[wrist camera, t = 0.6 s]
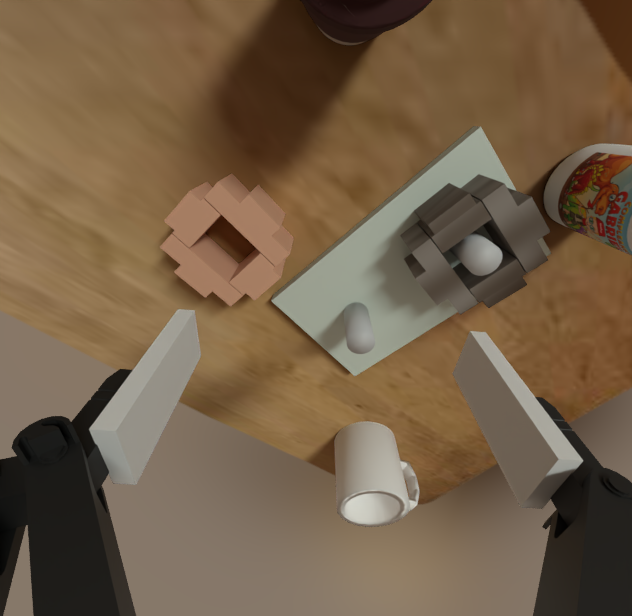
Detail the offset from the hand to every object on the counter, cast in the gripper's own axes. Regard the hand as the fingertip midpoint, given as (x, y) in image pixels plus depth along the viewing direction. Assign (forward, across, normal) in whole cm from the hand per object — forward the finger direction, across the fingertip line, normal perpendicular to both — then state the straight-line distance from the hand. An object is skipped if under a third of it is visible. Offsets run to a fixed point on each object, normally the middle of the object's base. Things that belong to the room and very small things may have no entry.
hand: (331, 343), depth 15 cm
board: (+22, +10, -6) cm, 24 cm away
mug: (+22, +11, -37) cm, 45 cm away
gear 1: (+22, -10, -3) cm, 24 cm away
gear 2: (+20, +14, 0) cm, 25 cm away
